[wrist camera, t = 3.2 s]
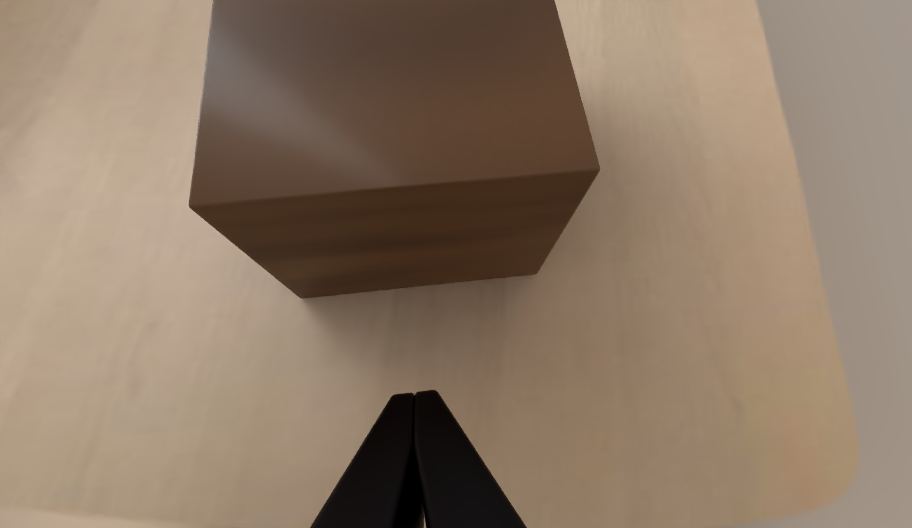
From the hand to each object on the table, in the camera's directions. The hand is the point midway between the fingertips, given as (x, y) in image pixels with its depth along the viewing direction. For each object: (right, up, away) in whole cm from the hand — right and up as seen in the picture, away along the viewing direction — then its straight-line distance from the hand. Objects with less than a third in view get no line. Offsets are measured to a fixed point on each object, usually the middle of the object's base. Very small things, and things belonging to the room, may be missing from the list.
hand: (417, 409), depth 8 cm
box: (-1, +7, +11) cm, 13 cm away
